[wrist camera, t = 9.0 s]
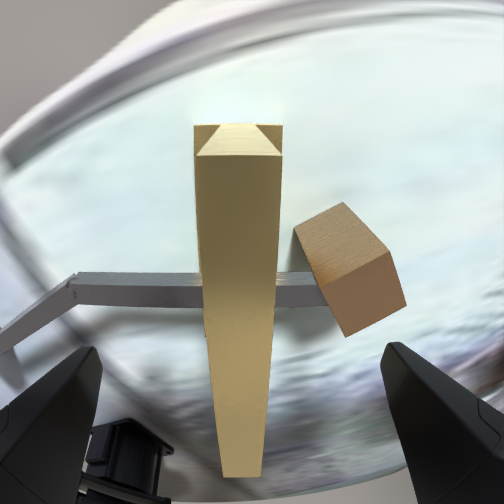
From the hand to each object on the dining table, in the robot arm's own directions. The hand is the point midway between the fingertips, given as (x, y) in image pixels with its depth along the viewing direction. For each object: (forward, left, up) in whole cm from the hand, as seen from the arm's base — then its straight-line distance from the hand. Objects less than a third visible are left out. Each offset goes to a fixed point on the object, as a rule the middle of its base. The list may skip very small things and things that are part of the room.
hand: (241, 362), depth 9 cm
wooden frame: (0, 0, -9) cm, 9 cm away
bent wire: (0, +9, -9) cm, 13 cm away
